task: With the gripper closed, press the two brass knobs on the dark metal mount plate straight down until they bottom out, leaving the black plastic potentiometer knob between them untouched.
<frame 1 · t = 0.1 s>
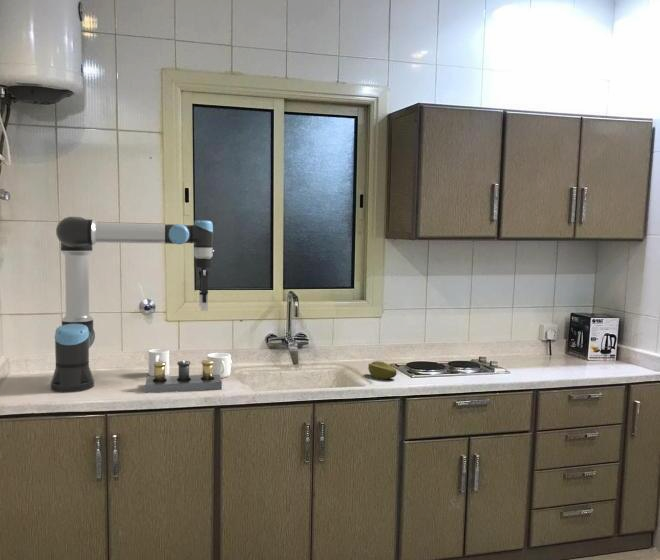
hand: (203, 308, 250), 28 cm above the countertop, fingers open, 13 cm apart
knob near: (159, 371, 228), point 6 cm above the countertop, slide at 0.0 cm
mug 2: (220, 377, 248), on the countertop
fruit: (382, 378, 254), on the countertop
mug: (158, 376, 248), on the countertop
knob mid: (183, 370, 231), point 7 cm above the countertop, slide at 0.0 cm
knob far: (207, 369, 233), point 6 cm above the countertop, slide at 0.0 cm
mount plate: (183, 387, 231), on the countertop
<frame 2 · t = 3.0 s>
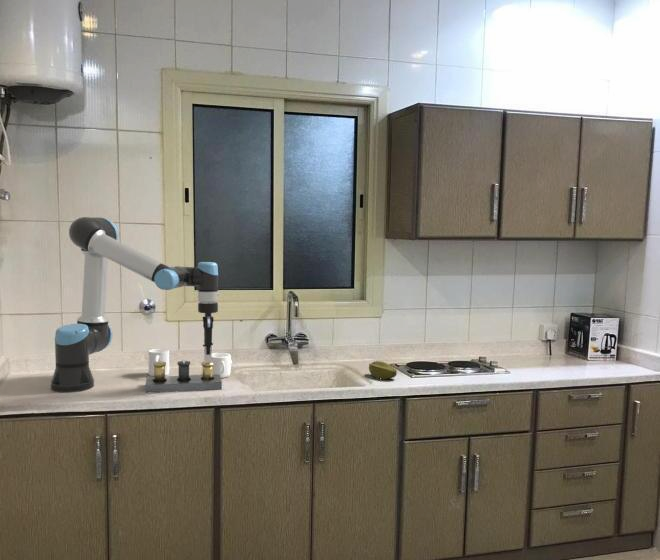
hand: (208, 362, 233), 9 cm above the countertop, fingers closed
knob far: (207, 371, 233), point 6 cm above the countertop, slide at 0.6 cm, touching gripper
everything else where it was.
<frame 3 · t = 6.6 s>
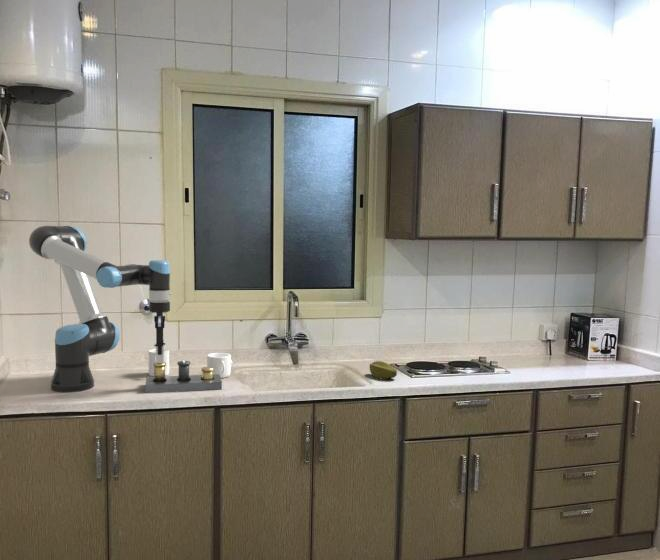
hand: (159, 362, 228), 10 cm above the countertop, fingers closed
knob near: (159, 371, 228), point 6 cm above the countertop, slide at 0.1 cm, touching gripper
knob far: (207, 376, 233), point 4 cm above the countertop, slide at 2.7 cm
everything else where it was.
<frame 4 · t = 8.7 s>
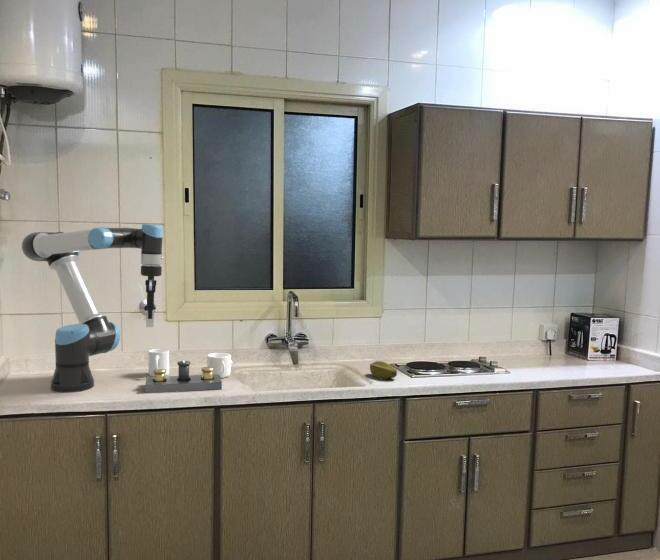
hand: (149, 326, 228), 24 cm above the countertop, fingers closed
knob near: (159, 378, 228), point 4 cm above the countertop, slide at 2.7 cm
everything else where it was.
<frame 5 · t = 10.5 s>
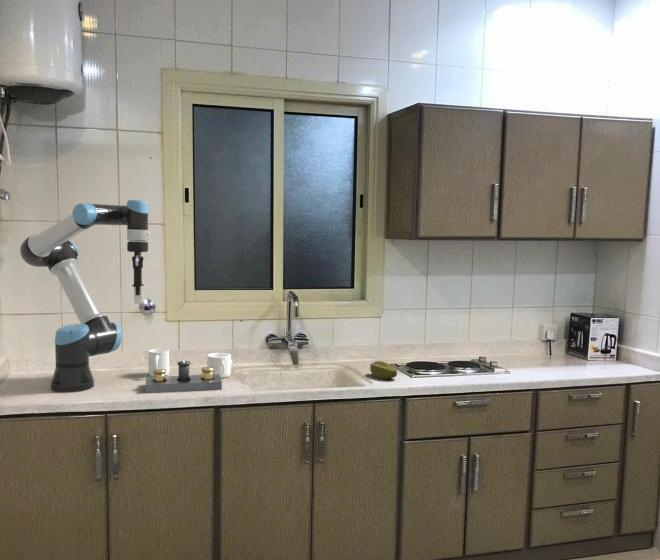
hand: (137, 303, 227), 32 cm above the countertop, fingers closed
nothing on the countertop moved.
at the end: knob far slide at 2.7 cm; knob near slide at 2.7 cm; knob mid slide at 0.0 cm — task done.
